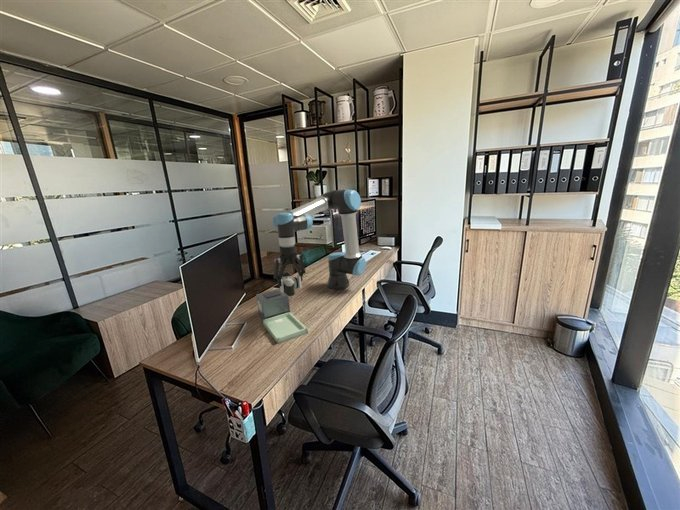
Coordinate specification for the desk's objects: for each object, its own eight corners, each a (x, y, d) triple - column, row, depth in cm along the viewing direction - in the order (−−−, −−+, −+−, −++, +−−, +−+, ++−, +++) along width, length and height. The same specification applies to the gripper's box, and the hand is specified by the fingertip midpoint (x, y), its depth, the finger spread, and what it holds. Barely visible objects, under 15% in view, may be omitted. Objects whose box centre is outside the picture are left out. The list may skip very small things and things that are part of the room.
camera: (304, 294, 134) (303, 274, 132) (287, 298, 130) (285, 278, 128) (292, 285, 148) (291, 267, 145) (277, 288, 144) (275, 270, 141)
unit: (284, 307, 162) (282, 287, 159) (292, 314, 152) (290, 293, 149) (258, 314, 154) (255, 293, 151) (264, 323, 144) (261, 301, 141)
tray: (290, 316, 150) (289, 311, 150) (307, 333, 132) (307, 328, 132) (263, 324, 143) (262, 320, 142) (277, 343, 125) (277, 339, 124)
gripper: (304, 241, 141) (307, 283, 146) (262, 247, 130) (267, 292, 135) (310, 243, 134) (313, 287, 140) (268, 250, 124) (272, 297, 129)
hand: (291, 289), depth 138 cm, fingers closed on camera, 9 cm apart
